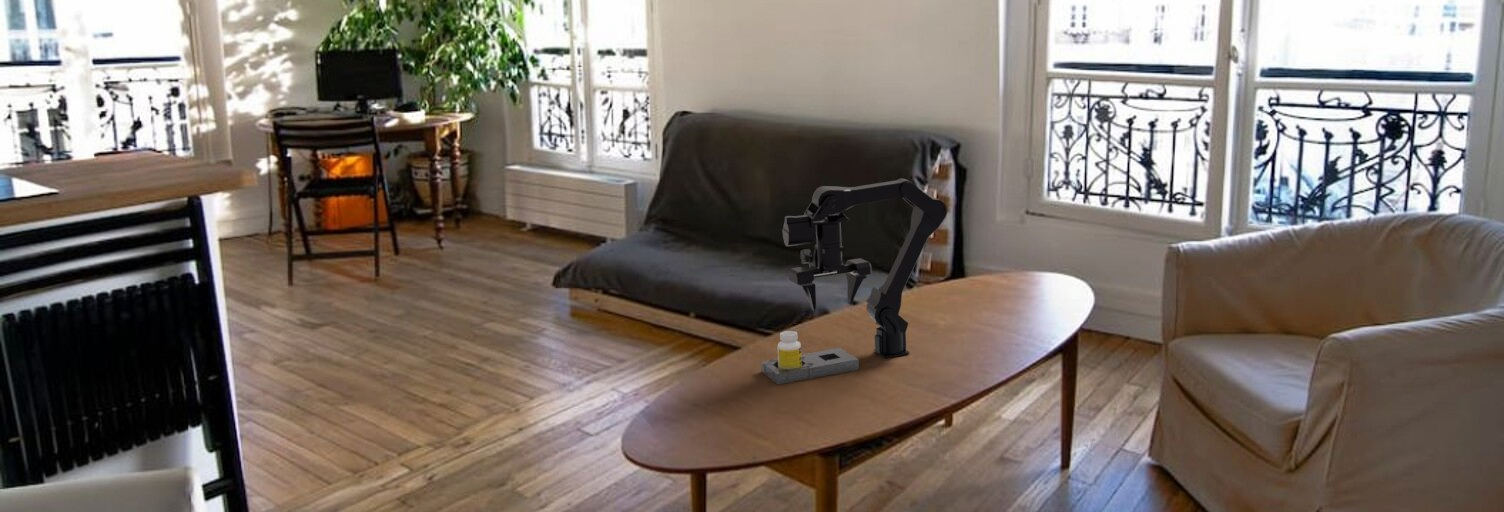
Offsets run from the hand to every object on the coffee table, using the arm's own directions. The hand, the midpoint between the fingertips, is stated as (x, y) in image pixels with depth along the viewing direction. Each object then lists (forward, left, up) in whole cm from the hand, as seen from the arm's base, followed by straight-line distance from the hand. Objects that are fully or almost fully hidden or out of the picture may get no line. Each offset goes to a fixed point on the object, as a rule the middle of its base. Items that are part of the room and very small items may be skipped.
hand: (831, 307), depth 275 cm
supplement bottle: (+13, +4, -13) cm, 19 cm away
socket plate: (+8, +4, -13) cm, 16 cm away
